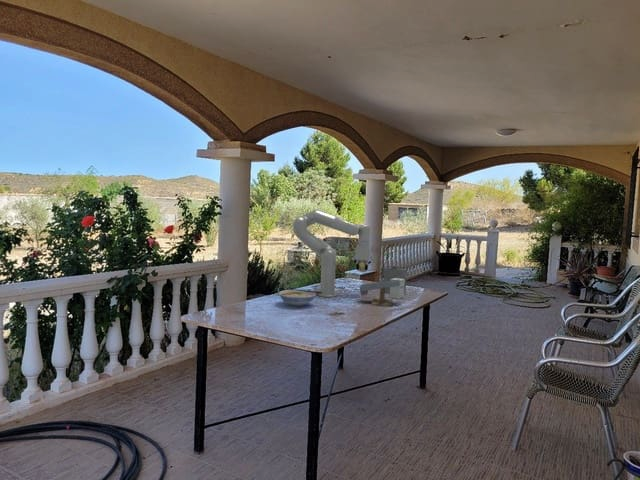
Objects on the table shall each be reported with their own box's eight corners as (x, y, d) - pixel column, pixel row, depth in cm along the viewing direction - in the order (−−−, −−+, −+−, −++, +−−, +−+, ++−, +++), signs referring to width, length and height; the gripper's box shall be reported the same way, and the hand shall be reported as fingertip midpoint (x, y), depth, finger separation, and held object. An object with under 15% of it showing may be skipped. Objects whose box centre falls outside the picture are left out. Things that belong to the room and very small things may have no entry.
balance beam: (360, 295, 290) (359, 287, 289) (362, 292, 299) (360, 284, 299) (400, 289, 285) (399, 281, 285) (400, 287, 295) (399, 279, 295)
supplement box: (399, 299, 307) (399, 280, 306) (389, 297, 311) (389, 278, 310) (404, 297, 312) (405, 279, 311) (394, 296, 317) (395, 277, 316)
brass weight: (357, 271, 307) (358, 260, 307) (358, 270, 312) (359, 260, 312) (365, 271, 307) (366, 261, 306) (365, 270, 311) (366, 260, 311)
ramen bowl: (269, 305, 275) (269, 292, 275) (289, 299, 295) (289, 286, 295) (305, 311, 264) (306, 297, 263) (324, 304, 284) (324, 291, 283)
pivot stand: (371, 305, 285) (372, 287, 284) (373, 299, 303) (373, 282, 302) (391, 306, 283) (392, 288, 282) (391, 300, 300) (392, 283, 300)
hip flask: (405, 293, 326) (407, 265, 324) (404, 294, 322) (406, 266, 321) (383, 291, 332) (384, 264, 330) (382, 292, 328) (383, 264, 326)
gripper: (350, 242, 306) (348, 270, 307) (376, 244, 303) (374, 272, 304) (351, 242, 313) (349, 268, 315) (376, 243, 310) (374, 270, 312)
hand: (361, 270), depth 309 cm, fingers closed on brass weight, 5 cm apart
